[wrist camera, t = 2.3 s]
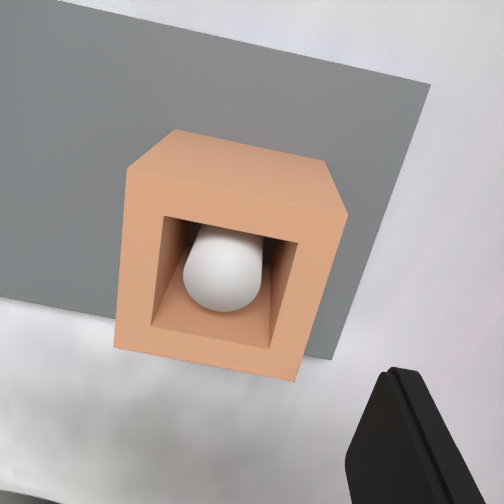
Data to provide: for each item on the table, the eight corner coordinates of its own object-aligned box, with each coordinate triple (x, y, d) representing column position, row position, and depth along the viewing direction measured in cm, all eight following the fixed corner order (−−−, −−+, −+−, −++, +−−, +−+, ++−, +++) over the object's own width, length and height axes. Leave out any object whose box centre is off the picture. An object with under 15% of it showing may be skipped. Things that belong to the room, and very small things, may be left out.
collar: (324, 161, 17) (348, 214, 11) (289, 289, 19) (294, 381, 14) (174, 128, 17) (127, 168, 11) (158, 262, 19) (113, 347, 14)
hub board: (418, 81, 17) (515, 104, 10) (328, 341, 22) (350, 467, 16) (-319, -84, 16) (-768, -183, 9) (-219, 235, 21) (-449, 322, 14)
